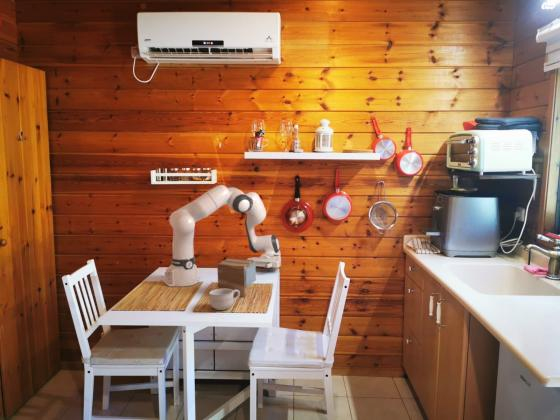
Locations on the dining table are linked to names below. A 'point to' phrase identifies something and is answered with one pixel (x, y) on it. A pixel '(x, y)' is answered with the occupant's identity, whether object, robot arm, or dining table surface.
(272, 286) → the dining table surface
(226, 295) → the teacup
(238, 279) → the dark brown box
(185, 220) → the robot arm
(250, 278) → the case
